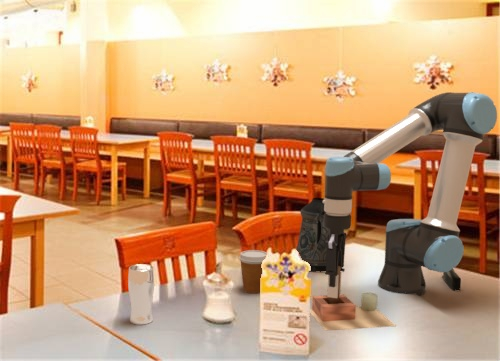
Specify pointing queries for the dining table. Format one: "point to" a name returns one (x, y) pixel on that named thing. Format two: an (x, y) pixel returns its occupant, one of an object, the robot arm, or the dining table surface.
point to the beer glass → (141, 293)
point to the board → (359, 322)
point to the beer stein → (313, 235)
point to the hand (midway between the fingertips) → (334, 295)
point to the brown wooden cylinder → (336, 300)
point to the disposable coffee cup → (251, 269)
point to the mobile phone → (452, 279)
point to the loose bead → (369, 301)
